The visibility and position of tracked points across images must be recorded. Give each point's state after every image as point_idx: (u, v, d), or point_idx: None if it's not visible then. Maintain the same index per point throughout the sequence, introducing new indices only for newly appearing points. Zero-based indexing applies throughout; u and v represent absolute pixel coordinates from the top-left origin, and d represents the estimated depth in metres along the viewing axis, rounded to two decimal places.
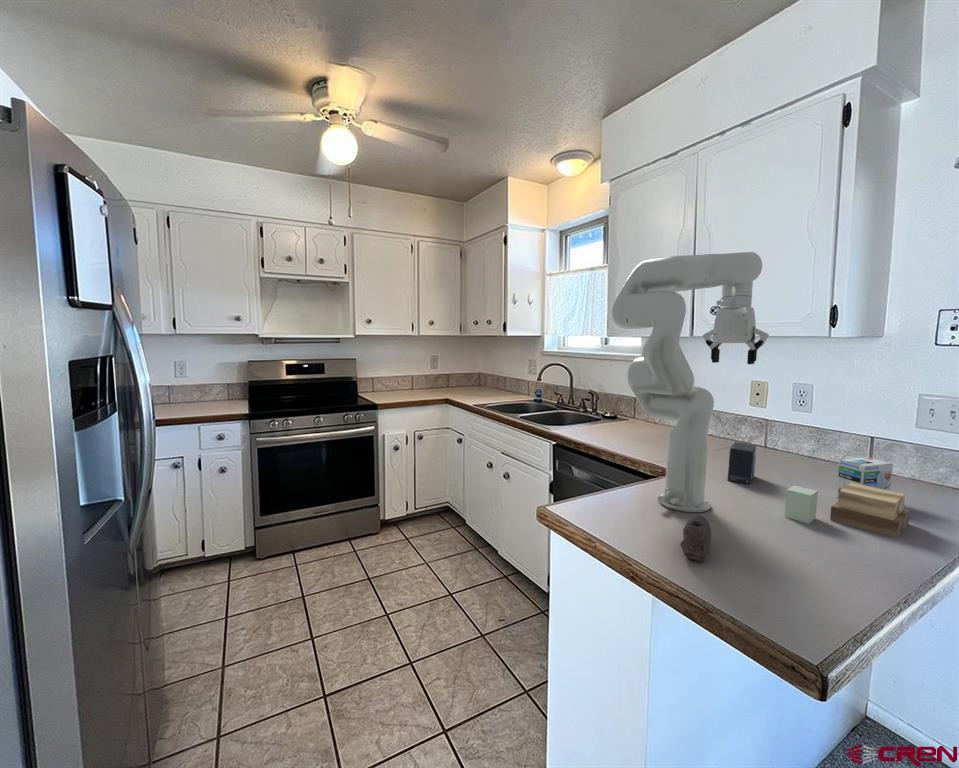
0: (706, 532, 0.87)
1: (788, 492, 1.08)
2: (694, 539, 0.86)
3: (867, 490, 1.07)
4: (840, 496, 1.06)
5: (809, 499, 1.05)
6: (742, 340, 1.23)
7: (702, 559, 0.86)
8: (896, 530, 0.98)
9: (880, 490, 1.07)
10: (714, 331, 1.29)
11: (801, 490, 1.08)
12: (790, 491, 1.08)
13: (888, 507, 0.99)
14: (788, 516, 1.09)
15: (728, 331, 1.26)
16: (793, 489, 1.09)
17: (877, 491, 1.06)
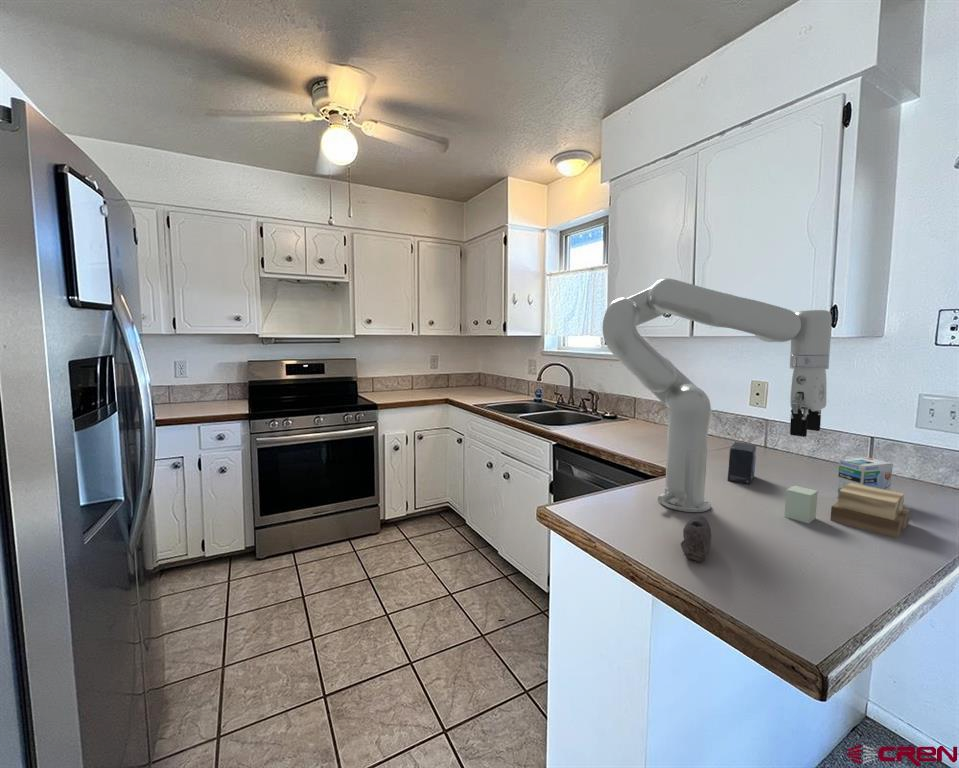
0: (706, 532, 0.87)
1: (788, 492, 1.08)
2: (694, 540, 0.86)
3: (867, 490, 1.07)
4: (840, 496, 1.06)
5: (809, 499, 1.05)
6: (825, 405, 1.07)
7: (702, 559, 0.86)
8: (896, 530, 0.98)
9: (879, 490, 1.07)
10: (814, 398, 1.02)
11: (801, 490, 1.08)
12: (790, 491, 1.08)
13: (888, 507, 0.99)
14: (788, 516, 1.09)
15: (820, 396, 1.04)
16: (793, 489, 1.09)
17: (876, 491, 1.06)
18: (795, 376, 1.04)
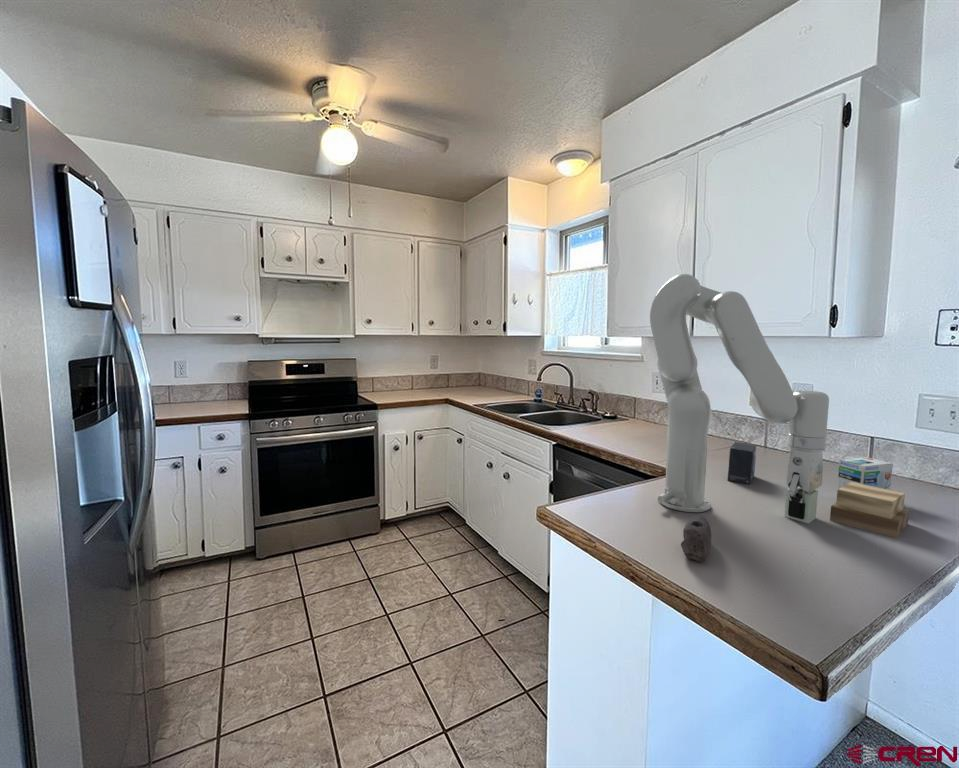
0: (706, 532, 0.87)
1: (788, 492, 1.08)
2: (694, 540, 0.86)
3: (866, 489, 1.07)
4: (838, 495, 1.07)
5: (809, 499, 1.05)
6: (821, 484, 1.08)
7: (702, 559, 0.86)
8: (896, 529, 0.98)
9: (880, 489, 1.07)
10: (809, 480, 1.03)
11: None
12: None
13: (886, 505, 1.00)
14: (788, 516, 1.09)
15: (816, 477, 1.05)
16: None
17: (876, 490, 1.06)
18: (791, 456, 1.06)
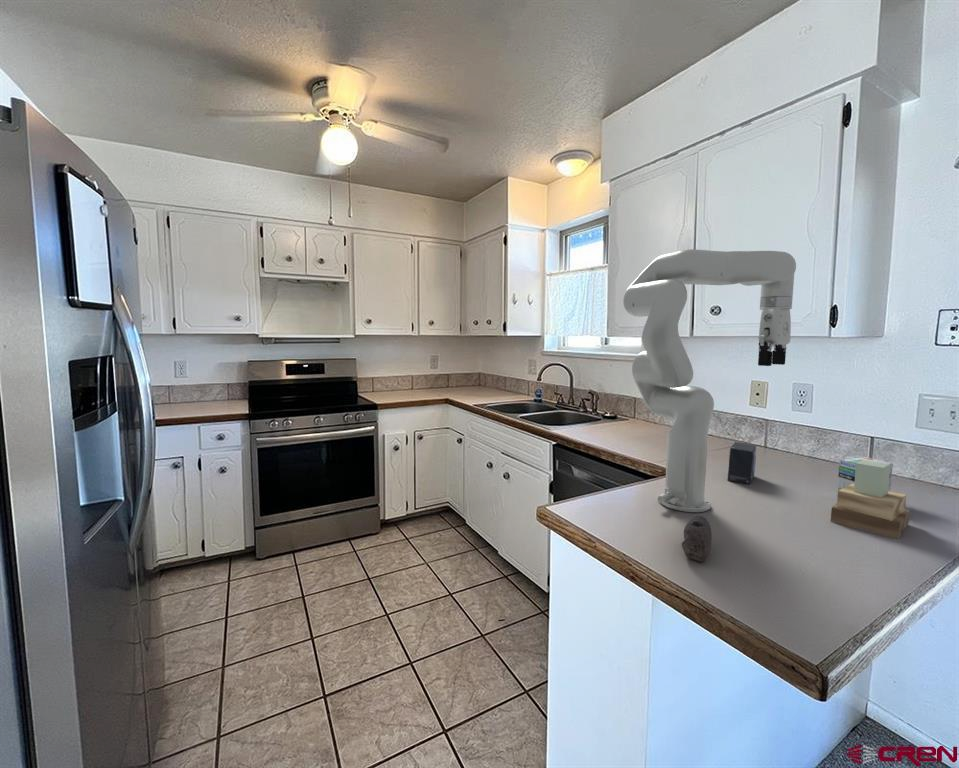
0: (707, 532, 0.87)
1: (857, 465, 1.05)
2: (695, 540, 0.86)
3: None
4: (839, 496, 1.06)
5: (882, 472, 1.01)
6: (789, 341, 1.25)
7: (703, 559, 0.86)
8: (897, 531, 0.97)
9: None
10: (778, 332, 1.20)
11: (872, 463, 1.04)
12: (860, 465, 1.04)
13: (886, 507, 0.99)
14: (858, 491, 1.05)
15: (784, 332, 1.22)
16: (863, 463, 1.05)
17: None
18: (763, 315, 1.23)
